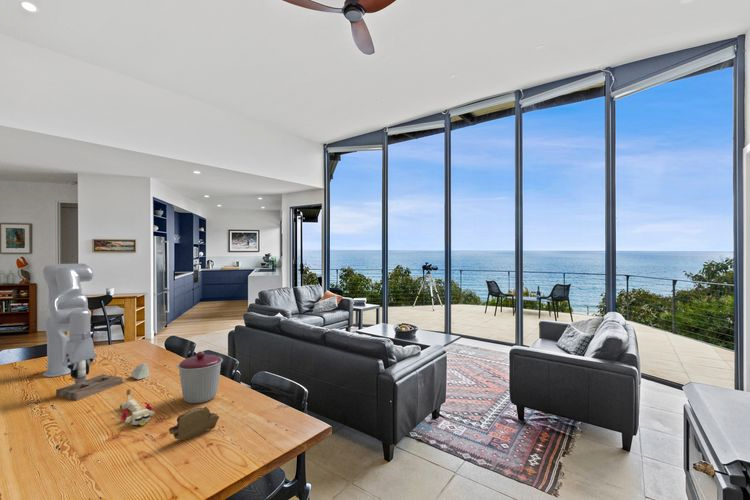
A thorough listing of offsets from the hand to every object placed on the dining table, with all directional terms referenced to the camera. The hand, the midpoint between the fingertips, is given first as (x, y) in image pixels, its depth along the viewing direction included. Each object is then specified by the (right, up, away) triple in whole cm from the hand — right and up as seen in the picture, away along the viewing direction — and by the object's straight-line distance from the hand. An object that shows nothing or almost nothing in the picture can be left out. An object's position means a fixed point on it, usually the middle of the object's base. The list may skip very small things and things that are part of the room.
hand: (80, 375), depth 158 cm
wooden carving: (+72, -9, -36) cm, 81 cm away
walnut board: (+1, -8, +4) cm, 10 cm away
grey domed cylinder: (0, -4, 0) cm, 4 cm away
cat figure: (+41, -9, -21) cm, 47 cm away
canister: (+59, -9, -6) cm, 60 cm away
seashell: (+14, -9, +20) cm, 26 cm away
